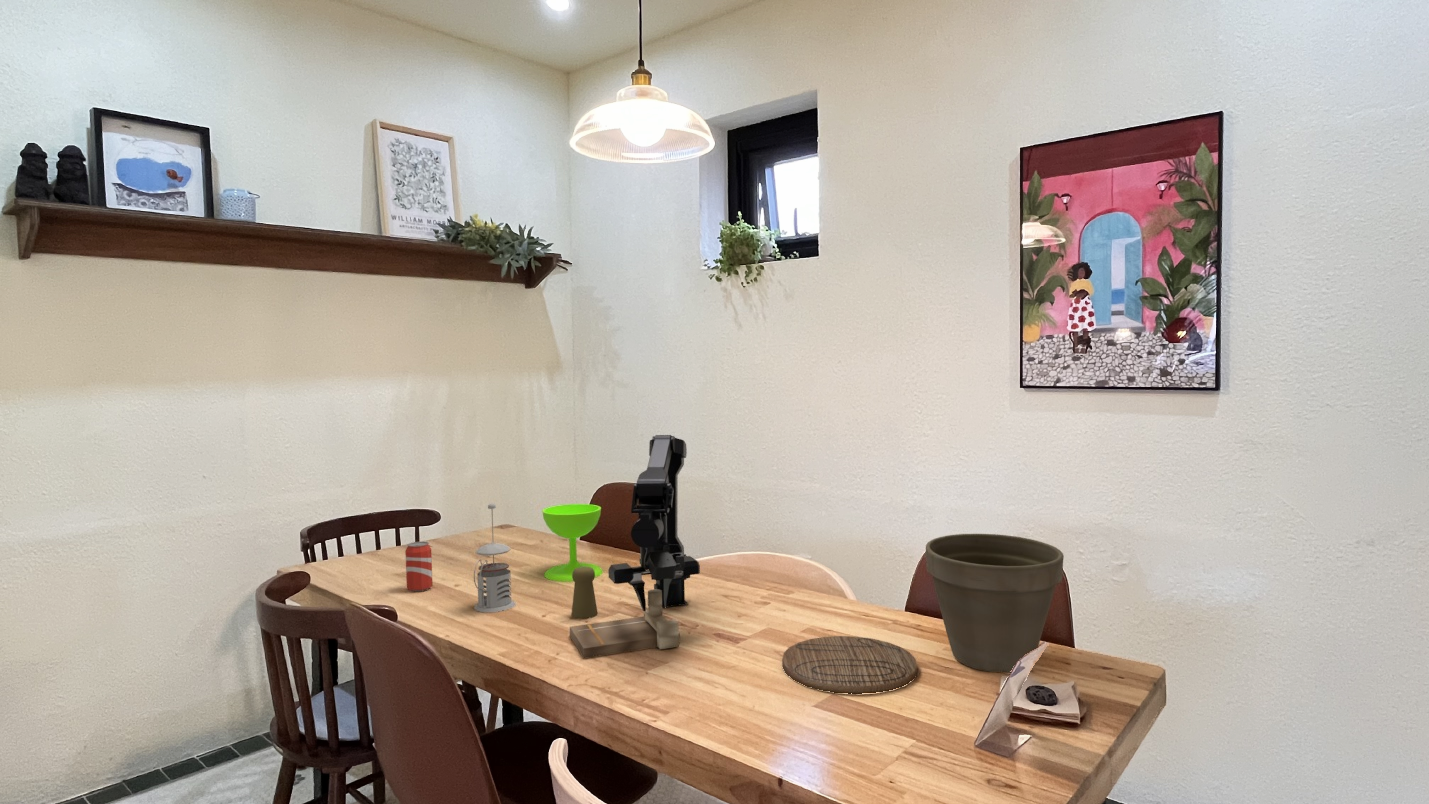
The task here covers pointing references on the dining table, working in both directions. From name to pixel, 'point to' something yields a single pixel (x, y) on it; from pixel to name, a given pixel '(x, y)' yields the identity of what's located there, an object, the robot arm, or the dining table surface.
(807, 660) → the trivet
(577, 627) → the board
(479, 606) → the french press
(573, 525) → the wineglass
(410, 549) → the beverage can
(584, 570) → the cork
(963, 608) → the plant pot
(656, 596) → the lever handle
